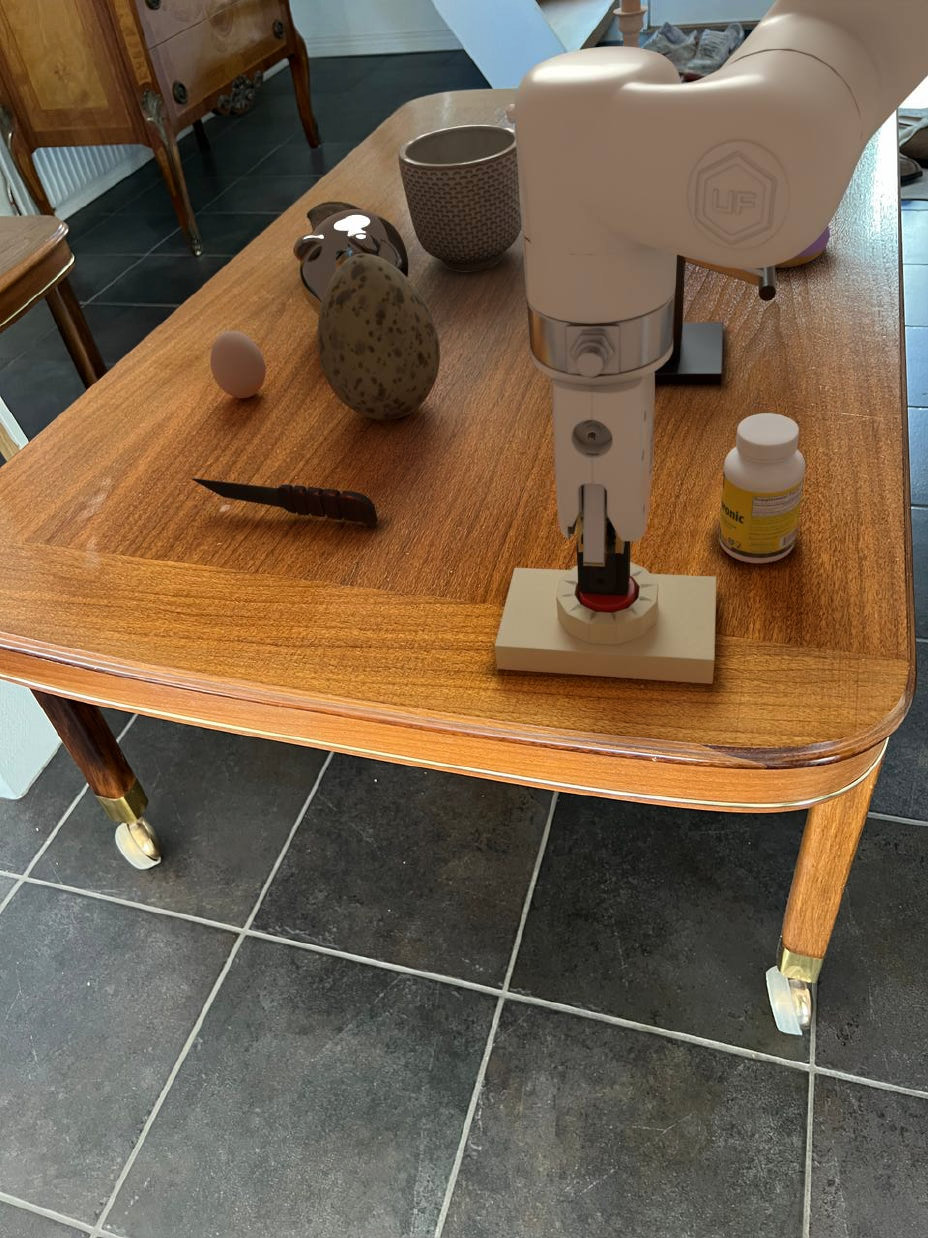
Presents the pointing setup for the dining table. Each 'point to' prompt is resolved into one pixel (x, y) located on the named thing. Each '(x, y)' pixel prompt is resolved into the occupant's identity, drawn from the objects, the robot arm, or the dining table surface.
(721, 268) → the lever
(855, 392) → the dining table surface
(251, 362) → the egg
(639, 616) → the power block
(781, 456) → the supplement bottle
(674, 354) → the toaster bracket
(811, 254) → the donut
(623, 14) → the candlestick
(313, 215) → the seashell
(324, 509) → the knife
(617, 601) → the button
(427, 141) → the planter
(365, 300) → the decorative egg
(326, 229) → the piggy bank
